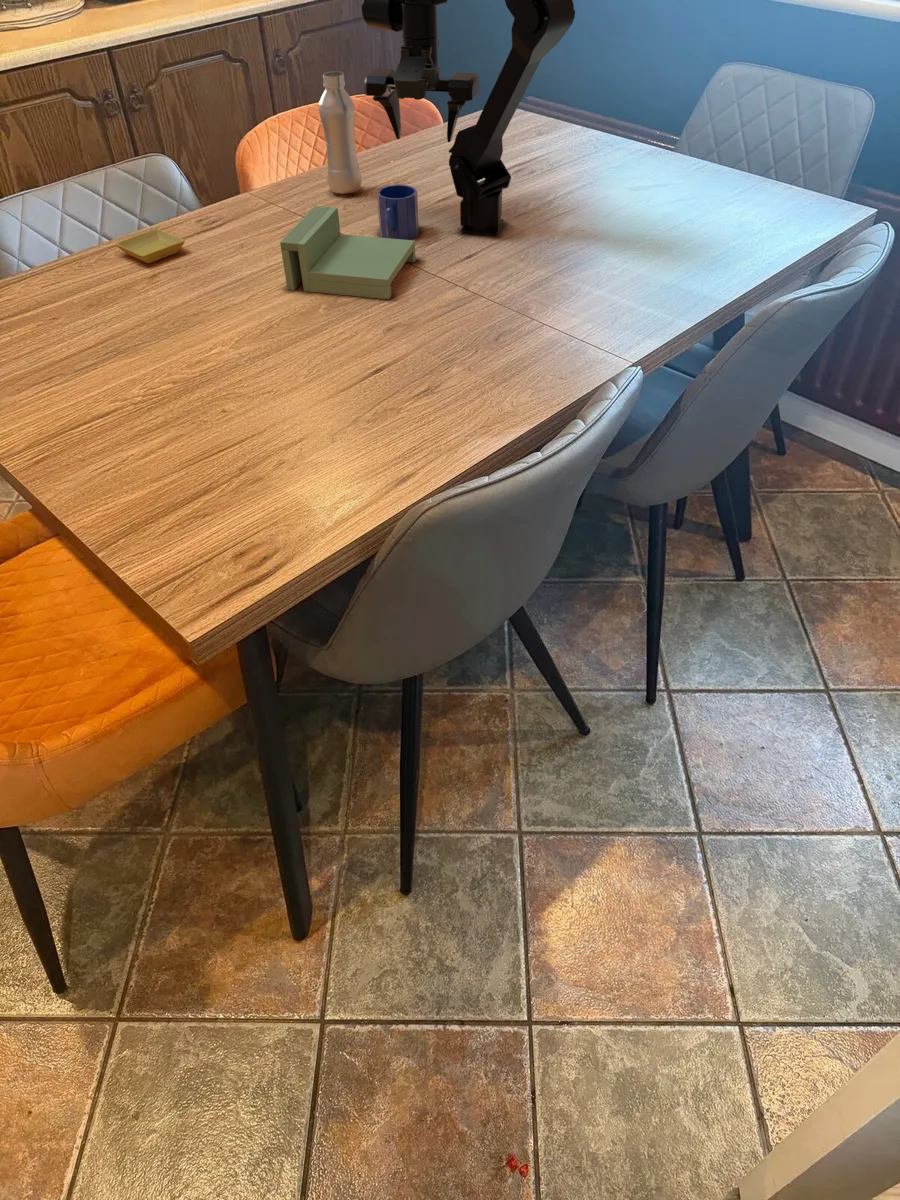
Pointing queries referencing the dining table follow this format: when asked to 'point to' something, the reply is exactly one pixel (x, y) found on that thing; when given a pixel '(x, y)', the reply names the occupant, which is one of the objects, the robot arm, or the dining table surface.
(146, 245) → the yellow shallow square dish
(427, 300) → the dining table surface
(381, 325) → the dining table surface
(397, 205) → the mug
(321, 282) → the shelf
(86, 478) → the dining table surface
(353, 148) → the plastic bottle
